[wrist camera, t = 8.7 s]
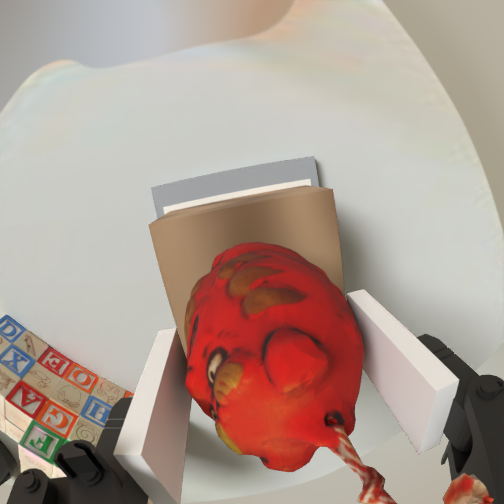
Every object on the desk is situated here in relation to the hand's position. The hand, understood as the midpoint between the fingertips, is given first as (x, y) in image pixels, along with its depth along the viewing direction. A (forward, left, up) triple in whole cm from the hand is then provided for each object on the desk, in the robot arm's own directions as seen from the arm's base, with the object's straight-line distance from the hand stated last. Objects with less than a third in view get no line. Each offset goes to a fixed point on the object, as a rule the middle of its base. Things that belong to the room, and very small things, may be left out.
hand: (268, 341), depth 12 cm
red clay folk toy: (0, 0, -4) cm, 4 cm away
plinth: (0, 0, -11) cm, 11 cm away
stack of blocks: (-20, -10, -12) cm, 25 cm away
